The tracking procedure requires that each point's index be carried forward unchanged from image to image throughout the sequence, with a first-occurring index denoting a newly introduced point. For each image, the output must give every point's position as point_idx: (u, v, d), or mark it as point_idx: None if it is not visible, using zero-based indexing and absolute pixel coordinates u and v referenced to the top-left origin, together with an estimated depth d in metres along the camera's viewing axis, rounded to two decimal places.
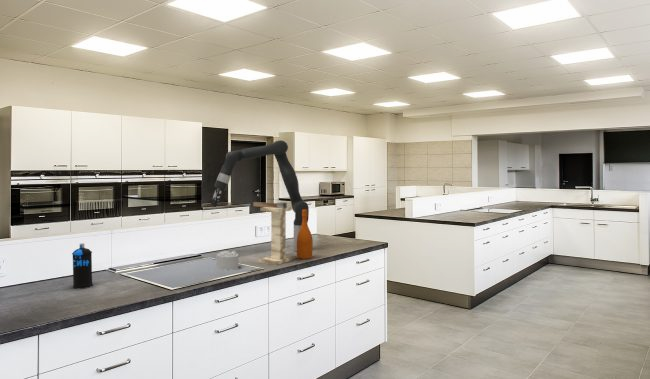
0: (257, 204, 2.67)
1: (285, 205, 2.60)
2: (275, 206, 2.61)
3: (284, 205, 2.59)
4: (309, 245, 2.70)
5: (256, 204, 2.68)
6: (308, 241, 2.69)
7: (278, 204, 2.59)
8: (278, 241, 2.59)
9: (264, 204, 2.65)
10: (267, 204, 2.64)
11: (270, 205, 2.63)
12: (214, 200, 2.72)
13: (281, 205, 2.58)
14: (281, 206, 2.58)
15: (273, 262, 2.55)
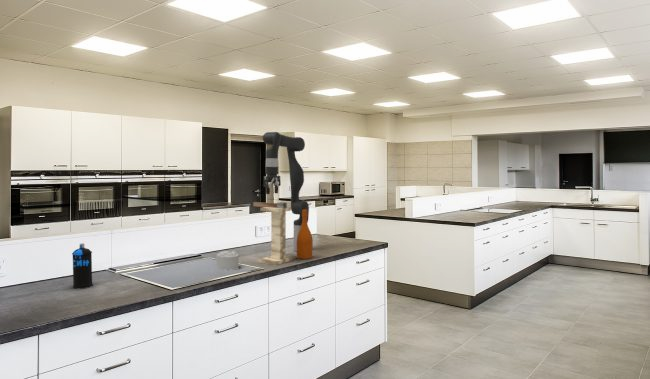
0: (257, 204, 2.67)
1: (285, 205, 2.60)
2: (275, 206, 2.61)
3: (284, 205, 2.59)
4: (309, 245, 2.70)
5: (256, 204, 2.68)
6: (308, 241, 2.69)
7: (278, 204, 2.59)
8: (278, 241, 2.59)
9: (264, 204, 2.65)
10: (267, 204, 2.64)
11: (270, 205, 2.63)
12: (266, 188, 2.59)
13: (281, 205, 2.58)
14: (281, 206, 2.58)
15: (273, 262, 2.55)
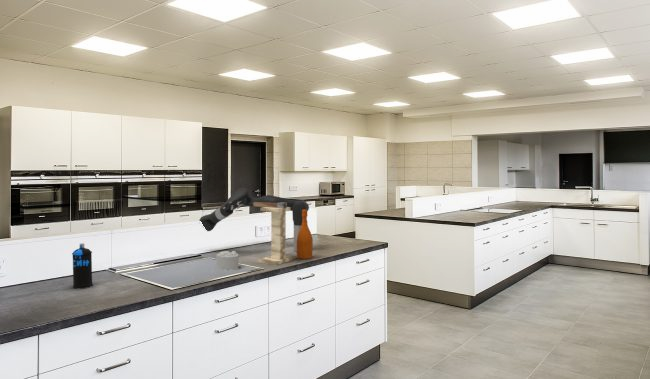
0: (257, 204, 2.67)
1: (285, 205, 2.60)
2: (275, 206, 2.61)
3: (284, 205, 2.59)
4: (309, 245, 2.70)
5: (256, 204, 2.68)
6: (308, 241, 2.69)
7: (278, 204, 2.59)
8: (278, 241, 2.59)
9: (264, 204, 2.65)
10: (267, 204, 2.64)
11: (270, 205, 2.63)
12: (233, 205, 2.72)
13: (281, 205, 2.58)
14: (281, 206, 2.58)
15: (273, 262, 2.55)
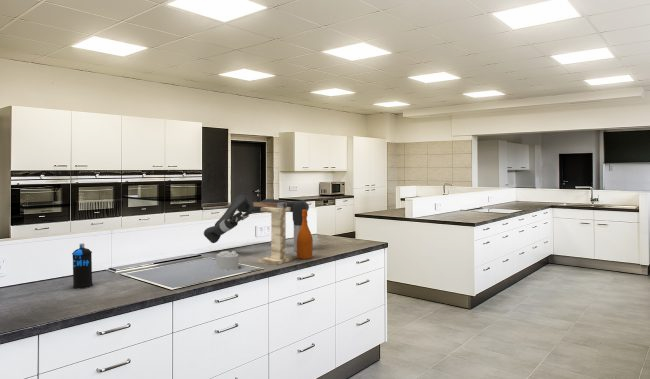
0: (257, 204, 2.67)
1: (285, 205, 2.60)
2: (275, 206, 2.61)
3: (284, 205, 2.59)
4: (309, 245, 2.70)
5: (256, 204, 2.68)
6: (308, 241, 2.69)
7: (278, 204, 2.59)
8: (278, 241, 2.59)
9: (264, 204, 2.65)
10: (267, 204, 2.64)
11: (270, 205, 2.63)
12: (237, 217, 2.71)
13: (281, 205, 2.58)
14: (281, 206, 2.58)
15: (273, 262, 2.55)
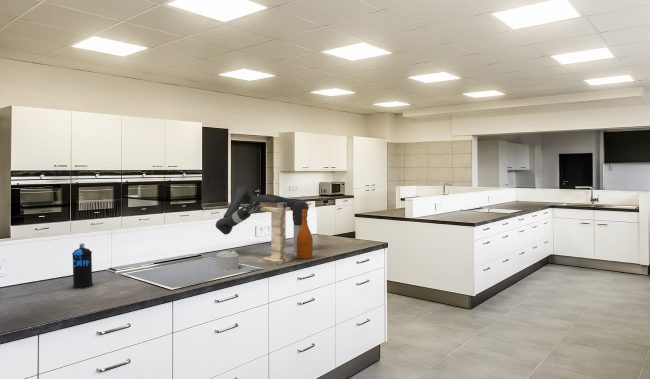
0: None
1: (285, 205, 2.60)
2: (275, 206, 2.61)
3: (284, 205, 2.59)
4: (309, 245, 2.70)
5: None
6: (308, 241, 2.69)
7: (278, 204, 2.59)
8: (278, 241, 2.59)
9: (264, 204, 2.65)
10: (267, 204, 2.64)
11: (270, 205, 2.63)
12: (255, 206, 2.67)
13: (281, 205, 2.58)
14: (281, 206, 2.58)
15: (273, 262, 2.55)
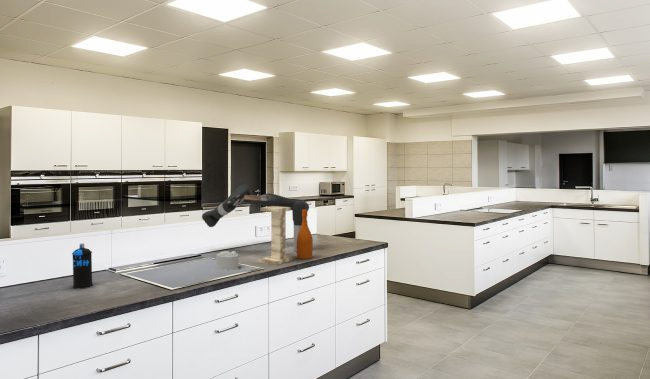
0: None
1: (268, 198, 2.65)
2: (259, 199, 2.66)
3: (267, 198, 2.64)
4: (309, 245, 2.70)
5: None
6: (308, 241, 2.69)
7: (261, 197, 2.64)
8: (278, 241, 2.59)
9: (248, 197, 2.70)
10: (251, 196, 2.69)
11: (254, 198, 2.68)
12: (240, 199, 2.73)
13: (264, 198, 2.63)
14: (264, 198, 2.63)
15: (273, 262, 2.55)
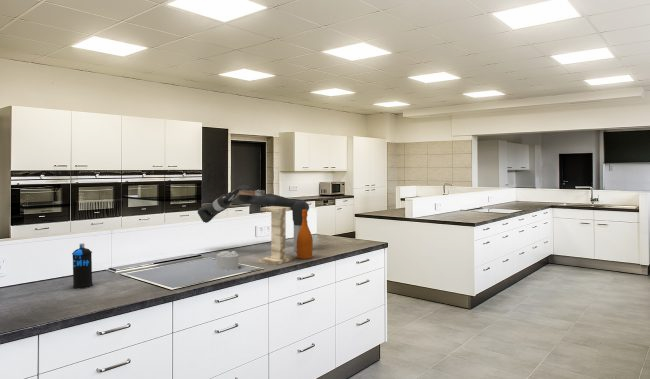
0: None
1: (263, 193, 2.67)
2: (253, 194, 2.68)
3: (262, 193, 2.66)
4: (309, 245, 2.70)
5: None
6: (308, 241, 2.69)
7: (256, 192, 2.66)
8: (278, 241, 2.59)
9: (243, 192, 2.72)
10: (246, 191, 2.71)
11: (249, 193, 2.70)
12: (234, 194, 2.75)
13: (259, 193, 2.65)
14: (259, 194, 2.65)
15: (273, 262, 2.55)
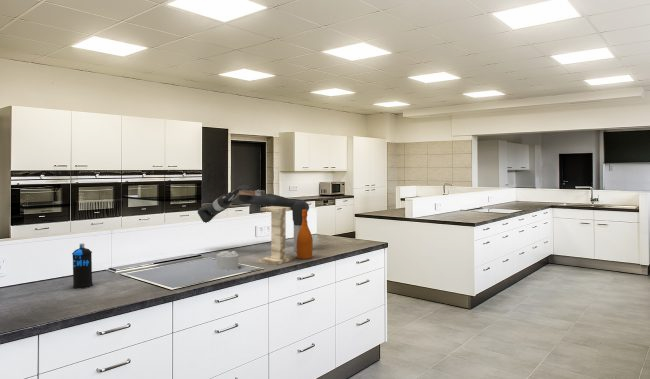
0: None
1: (263, 193, 2.67)
2: (253, 194, 2.68)
3: (262, 193, 2.66)
4: (309, 245, 2.70)
5: None
6: (308, 241, 2.69)
7: (256, 192, 2.66)
8: (278, 241, 2.59)
9: (243, 192, 2.72)
10: (246, 191, 2.71)
11: (248, 193, 2.70)
12: (234, 194, 2.75)
13: (259, 193, 2.65)
14: (259, 194, 2.65)
15: (273, 262, 2.55)
